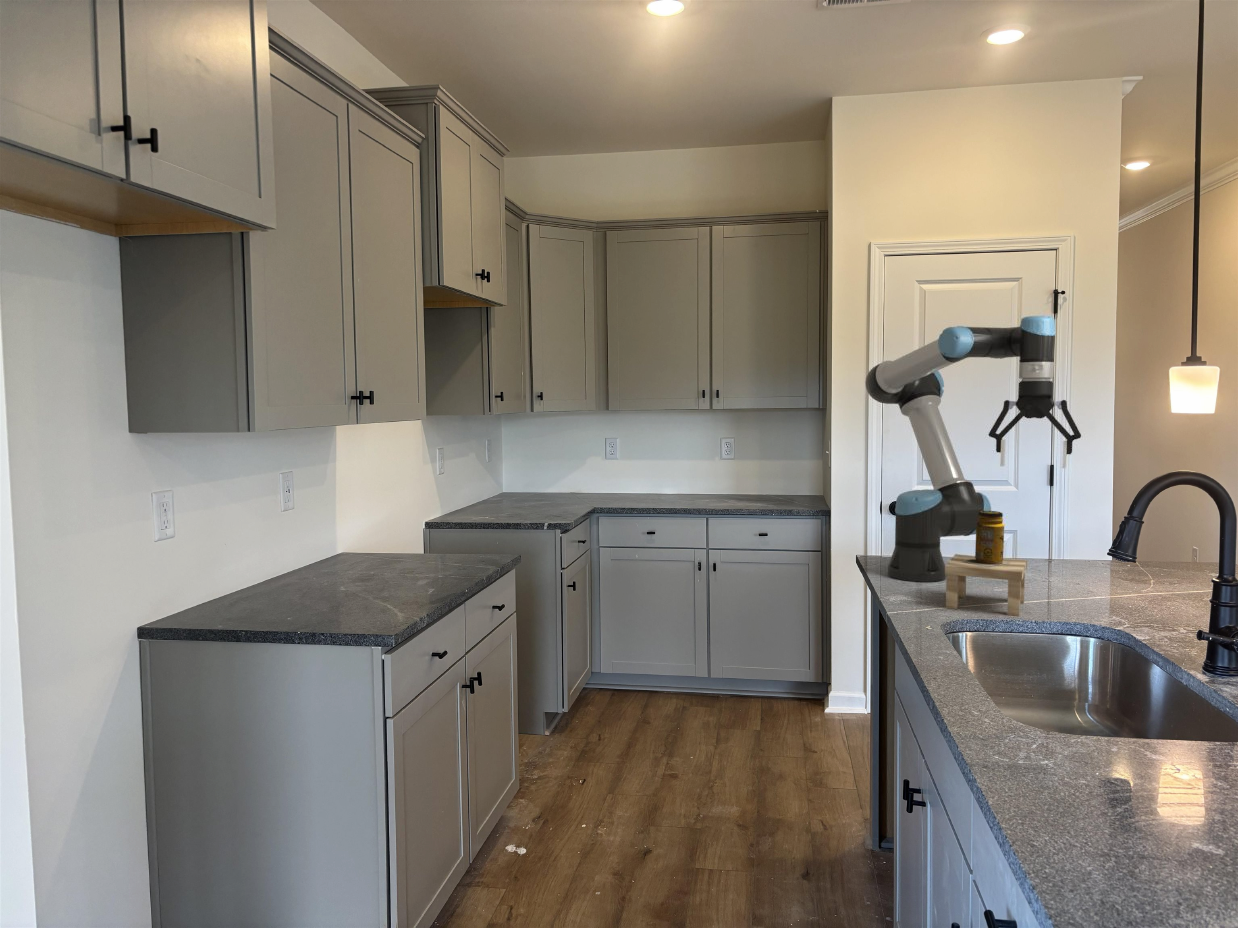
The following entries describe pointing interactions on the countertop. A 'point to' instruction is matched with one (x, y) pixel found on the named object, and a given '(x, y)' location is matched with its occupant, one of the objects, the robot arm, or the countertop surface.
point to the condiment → (989, 539)
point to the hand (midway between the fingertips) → (1032, 467)
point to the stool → (1009, 571)
